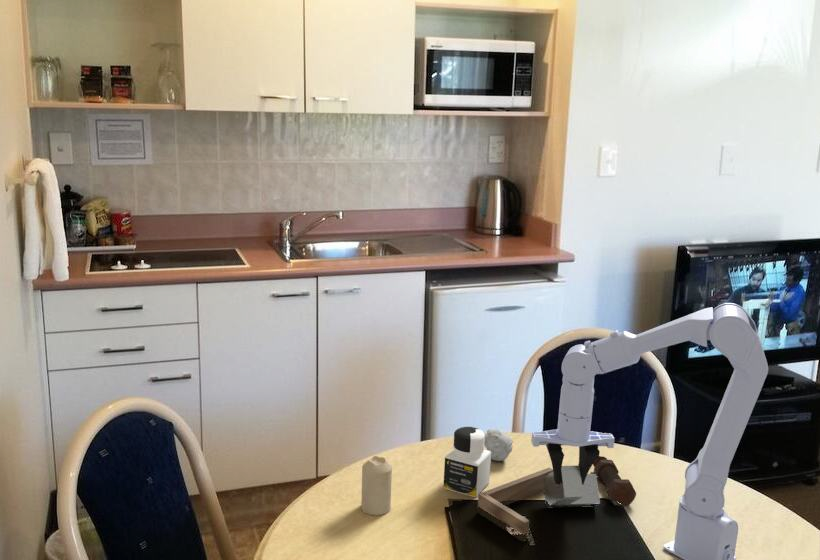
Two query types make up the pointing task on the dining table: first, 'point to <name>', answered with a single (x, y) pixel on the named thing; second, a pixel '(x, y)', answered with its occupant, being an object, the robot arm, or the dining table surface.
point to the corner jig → (512, 498)
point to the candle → (376, 486)
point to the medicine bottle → (467, 463)
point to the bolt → (614, 481)
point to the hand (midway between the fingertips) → (568, 481)
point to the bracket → (571, 488)
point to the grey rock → (498, 444)
